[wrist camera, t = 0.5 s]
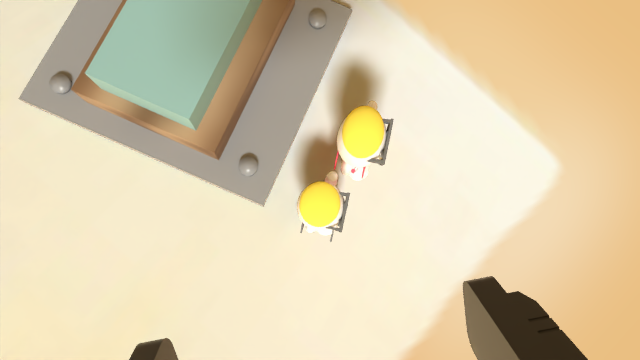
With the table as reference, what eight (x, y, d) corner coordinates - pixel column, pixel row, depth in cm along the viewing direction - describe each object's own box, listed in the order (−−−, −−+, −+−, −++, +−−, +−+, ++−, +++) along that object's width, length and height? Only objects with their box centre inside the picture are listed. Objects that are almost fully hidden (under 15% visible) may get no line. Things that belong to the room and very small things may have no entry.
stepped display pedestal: (25, 102, 37) (-32, 68, 30) (136, -83, 41) (108, -150, 34) (263, 206, 38) (261, 196, 31) (350, 15, 41) (366, -32, 35)
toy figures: (327, 249, 38) (342, 248, 29) (283, 225, 38) (286, 217, 29) (389, 134, 40) (419, 103, 32) (348, 110, 40) (367, 73, 32)
